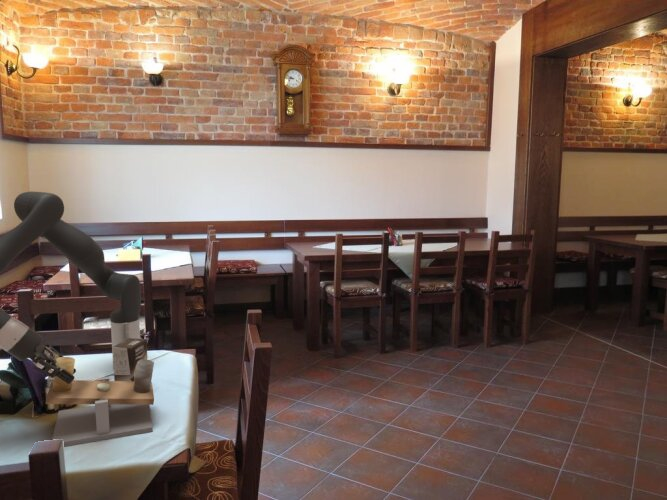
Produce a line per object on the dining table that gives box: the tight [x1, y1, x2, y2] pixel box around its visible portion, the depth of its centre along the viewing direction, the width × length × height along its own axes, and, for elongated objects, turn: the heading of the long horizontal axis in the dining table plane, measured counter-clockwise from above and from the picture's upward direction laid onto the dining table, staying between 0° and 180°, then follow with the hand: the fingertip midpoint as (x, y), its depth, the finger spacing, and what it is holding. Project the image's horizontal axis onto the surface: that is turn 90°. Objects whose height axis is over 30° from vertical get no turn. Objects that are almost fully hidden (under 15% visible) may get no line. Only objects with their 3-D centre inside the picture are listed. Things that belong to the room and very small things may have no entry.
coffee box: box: [112, 338, 148, 382], centre depth 162 cm, size 9×6×16 cm
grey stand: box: [51, 376, 153, 447], centre depth 143 cm, size 24×19×10 cm
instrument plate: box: [45, 356, 155, 405], centre depth 142 cm, size 26×13×10 cm, turn 112°
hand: (72, 376), depth 139 cm, fingers closed on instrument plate, 4 cm apart
